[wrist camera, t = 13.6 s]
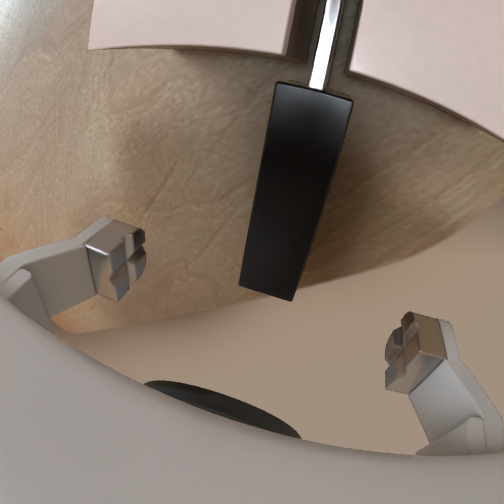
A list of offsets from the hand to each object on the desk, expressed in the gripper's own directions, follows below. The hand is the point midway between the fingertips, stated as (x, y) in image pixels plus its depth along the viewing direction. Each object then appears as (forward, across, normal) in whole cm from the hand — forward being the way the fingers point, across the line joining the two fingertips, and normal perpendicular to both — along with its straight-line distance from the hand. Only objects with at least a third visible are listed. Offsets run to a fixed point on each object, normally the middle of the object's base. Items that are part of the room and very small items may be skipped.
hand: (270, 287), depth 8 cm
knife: (+7, 0, -7) cm, 10 cm away
